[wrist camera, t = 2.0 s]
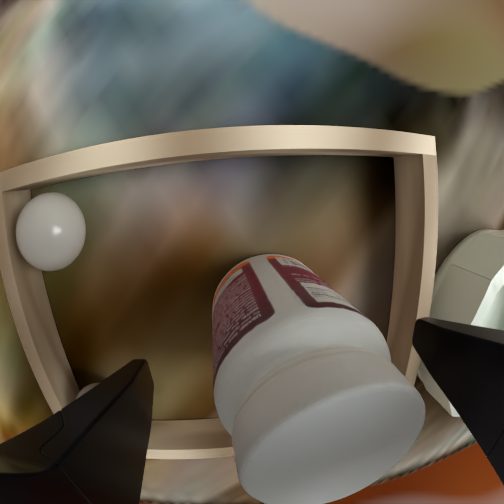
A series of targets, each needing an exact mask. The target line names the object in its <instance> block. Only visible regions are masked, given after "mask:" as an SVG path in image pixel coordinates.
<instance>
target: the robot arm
mask: <svg viewBox="0 0 504 504" xmlns="http://www.w3.org/2000/svg"><path fill="white" fill-rule="evenodd" d="M412 345H413V347H414V349H415V350H416V352H417V354H418V355H419V357H420V358H421V360H422V362H423V363H424V365H425V367H426V369H427V370H428V372H429V373H430V375H431V377H432V378H433V379H434V381H435V382H436V383H437V385H438V386H439V388H440V389H441V390H442V392H443V393H444V394H445V396H446V397H447V399H448V400H449V401H450V403H451V404H452V406H453V407H454V408H455V410H456V411H457V413H458V414H459V416H460V417H461V419H462V420H463V421H464V423H465V424H466V426H467V427H468V429H469V430H470V432H471V433H472V435H473V436H474V438H475V439H476V441H477V442H478V444H479V445H480V447H481V448H482V450H483V452H484V453H485V455H486V456H487V458H488V460H489V462H490V463H491V465H492V466H493V468H494V470H495V471H496V473H497V475H498V476H499V478H500V480H501V481H502V483H503V485H504V330H499V329H493V328H487V327H481V326H475V325H469V324H463V323H457V322H451V321H446V320H440V319H435V318H429V317H423V318H420V319H417V320H416V322H415V325H414V331H413V337H412ZM153 391H154V384H153V379H152V376H151V372H150V369H149V365H148V362H147V361H146V360H145V359H135V360H132V361H131V362H129V363H128V364H126V365H125V366H124V367H122V368H121V369H119V370H118V371H116V372H115V373H113V374H112V375H111V376H109V377H108V378H106V379H105V380H103V381H102V382H100V383H99V384H97V385H96V386H95V387H93V388H92V389H90V390H89V391H87V392H86V393H84V394H83V395H81V396H80V397H78V398H77V399H75V400H74V401H72V402H71V403H70V404H68V405H67V406H65V407H64V408H62V409H61V411H60V410H59V411H57V412H56V413H55V414H53V415H52V416H50V417H48V418H47V419H45V420H44V421H42V422H41V423H39V424H37V425H35V426H33V427H32V428H30V429H28V430H26V431H24V432H22V433H21V434H19V435H17V436H15V437H13V438H11V439H9V440H7V441H5V442H3V443H1V444H0V504H139V502H140V494H141V487H142V480H143V474H144V467H145V461H146V455H147V449H148V443H149V438H150V432H151V424H152V406H153Z"/></svg>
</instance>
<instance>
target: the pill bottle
mask: <svg viewBox="0 0 504 504" xmlns="http://www.w3.org/2000/svg"><path fill="white" fill-rule="evenodd" d="M212 338H213V371H214V382H213V391H214V402H215V406H216V409H217V413H218V416H219V418H220V421H221V423H222V424H223V426H224V428H225V429H226V430H227V432H228V433H229V434H230V435H231V436H232V446H233V450H234V455H235V462H236V468H237V473H238V478H239V481H240V483H241V485H242V487H243V488H244V490H245V491H246V492H247V493H248V494H249V495H250V496H252V497H253V498H255V499H256V500H258V501H261V502H263V503H266V504H324V503H328V502H332V501H335V500H338V499H341V498H344V497H346V496H348V495H351V494H353V493H355V492H357V491H359V490H361V489H363V488H365V487H367V486H368V485H370V484H372V483H373V482H375V481H376V480H378V479H379V478H381V477H382V476H384V475H385V474H386V473H388V472H389V471H390V470H391V469H392V468H394V467H395V466H396V465H397V464H398V463H399V462H400V461H401V460H402V459H403V458H404V456H405V455H406V454H407V453H408V452H409V450H410V449H411V448H412V446H413V445H414V443H415V442H416V440H417V438H418V436H419V435H420V433H421V430H422V428H423V424H424V421H425V414H426V410H425V404H424V401H423V399H422V397H421V395H420V393H419V392H418V391H417V390H416V388H415V387H414V386H413V385H412V384H411V383H410V382H409V381H408V380H407V378H406V377H405V376H404V375H403V374H402V373H401V372H400V371H399V370H398V369H397V368H396V366H395V365H394V364H392V363H391V357H390V352H389V348H388V345H387V343H386V341H385V339H384V336H383V335H382V333H381V332H380V330H379V329H378V327H377V326H376V325H375V324H374V323H373V322H372V321H371V320H370V319H368V318H367V317H366V316H365V315H363V314H362V313H361V312H360V311H358V310H357V309H356V308H355V307H354V306H352V305H351V304H350V303H349V302H348V301H347V300H345V299H344V298H343V297H342V296H341V295H340V294H338V293H337V292H336V291H334V290H333V289H332V288H331V287H330V286H329V285H327V284H326V283H325V282H324V281H323V280H322V279H321V278H319V277H318V276H317V275H316V274H315V273H314V272H312V271H311V270H310V269H309V268H308V267H306V266H305V265H304V264H302V263H301V262H299V261H298V260H296V259H294V258H291V257H288V256H284V255H279V254H265V255H259V256H255V257H250V258H248V259H246V260H244V261H242V262H240V263H239V264H237V265H236V266H234V267H233V268H232V269H231V270H230V271H229V272H228V273H227V274H226V275H225V276H224V278H223V279H222V280H221V282H220V284H219V285H218V287H217V289H216V292H215V295H214V299H213V306H212Z"/></svg>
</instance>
